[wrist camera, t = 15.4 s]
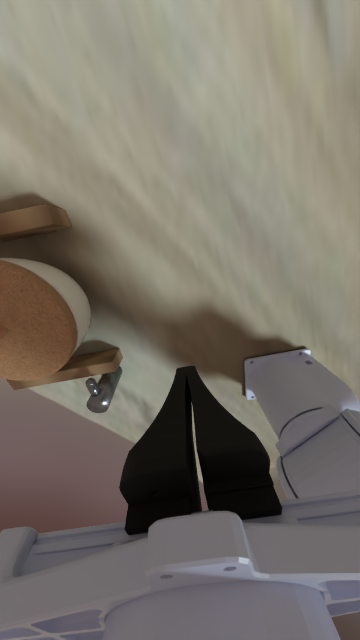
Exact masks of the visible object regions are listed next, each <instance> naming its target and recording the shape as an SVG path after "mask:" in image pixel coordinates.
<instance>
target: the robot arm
mask: <svg viewBox="0 0 360 640" xmlns="http://www.w3.org/2000/svg"><path fill="white" fill-rule="evenodd" d="M310 353H311V351H310V350H309V349H308V348H306V349H300V350H295V351H289V352H284V353H278V354H272V355H267V356H261V357H256V358H250V359H246V360H245V361H244V370H245V393H246V399H247V400H251V399H257V401H258V403H259V404H260V406H261V408H262V410H263V412H264V413H265V415H266V417H267V419H268V421H269V423H270V424H271V426H272V428H273V430H274V432H275V433H276V435H277V437H278V439H279V441H278V442H277V443H276V444H275V445H276V447H277V449H278V451H279V453H280V455H281V456H279V457H278V459H277V470H278V476H279V479H280V482H281V485H282V487H283V489H284V492H285V494H286V496H287V498H288V500H282V501H279V499H278V497H277V494H276V492H275V489H274V487H273V485H274V484H273V481H272V478H271V476H270V474H269V469H270V458H269V456H268V453H267V452H266V450H265V448H264V446H263V445H262V443H261V442H260V440H259V439H258V437H257V436H256V434H255V433H254V432H252V431H251V430H250V429H248V428H247V427H246V426H244V425H243V424H242V423H241V422H239V421H238V420H237V419H236V418H234V417H233V416H232V415H231V414H230V413H229V412H228V411H227V410H226V409H225V408H224V407H223V406H222V405H221V404H220V403H219V402H218V401H217V400H216V399H215V398H214V396H213V395H212V394H211V393H210V391H209V390H208V389H207V387H206V386H205V384H204V383H203V381H202V380H201V378H200V376H199V375H198V373H197V370H196V368H195V366H187V367H181V368H177V370H176V374H175V378H174V381H173V384H172V387H171V389H170V392H169V394H168V396H167V398H166V400H165V402H164V404H163V406H162V408H161V410H160V412H159V413H158V415H157V416H156V418H155V420H154V421H153V423H152V424H151V425H150V427H149V428H148V429H147V431H146V432H145V433H144V435H143V436H142V437H141V439H140V440H139V441H138V442H137V443H136V444H135V446H134V447H133V448H132V449H131V450H130V451H129V453H128V456H127V459H126V462H125V465H124V468H123V472H122V477H121V482H120V487H119V488H120V491H121V493H122V495H123V497H124V498H125V500H126V501H127V503H128V511H127V517H126V522H121V523H114V524H106V525H100V526H92V527H85V528H77V529H70V530H62V531H55V532H48V533H40V534H37V532H36V531H35V530H34V529H33V528H31V527H18V528H12V529H4V530H3V531H2V532H1V533H0V640H340V637H339V635H338V633H337V630H336V628H335V625H334V623H333V621H332V619H331V617H333V616H339V615H344V614H350V613H355V612H360V402H359V400H358V398H357V397H356V395H355V394H354V392H353V391H352V390H351V389H350V388H349V387H348V386H347V385H346V384H345V383H344V382H343V381H342V380H341V379H339V378H338V377H337V376H335V375H334V374H333V373H332V372H330V371H329V370H328V369H327V368H325V367H324V366H323V365H322V364H320V363H319V362H318V361H317V360H315V359H314V358H313V357H312V356H310ZM251 361H252V362H251ZM191 401H192V405H193V413H194V423H195V434H196V446H197V453H198V458H199V462H200V467H201V472H202V477H203V484H204V492H205V496H206V500H207V505H208V509H209V511H202V507H201V499H200V491H199V483H198V475H197V467H196V459H195V451H194V442H193V432H192V405H191Z"/></svg>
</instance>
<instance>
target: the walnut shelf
mask: <svg viewBox="0 0 360 640" xmlns="http://www.w3.org/2000/svg"><path fill="white" fill-rule="evenodd" d="M70 227H72V226H71V223H70V220H69V218H68V215H67V213H66V210H63V209H60V208H57V207H54V206H51V205H48V204H41V205H37V206H32V207H27V208H23V209H18V210H14V211H9V212H5V213H0V242H4V241H9V240H14V239H18V238H23V237H28V236H33V235H37V234H42V233H47V232H51V231H56V230H61V229H65V228H70ZM122 358H123V356H122V354H121V351H120V349H119V348H118V349H113V350H107V351H102V352H97V353H91V354H86V355H81V356H75V357H71V358H70V359H69V361H68V362H67V363H66V364H65V365H64V366H63V367H62V368H61V369H60V370H59V371H57V372H55V373H54V374H52V375H50V376H47V377H45V378H41V379H36V380H28V381H16V380H9V379H6V380H7V381H8V383H9V384H10V385H11V386H12V387H13V389H14V390H17V389H22V388H28V387H33V386H39V385H44V384H50V383H55V382H61V381H66V380H72V379H77V378H83V377H88V376H94V375H99V374H105V373H110V372H116V371H117V369H118V367H119V365H120V362H121V360H122Z"/></svg>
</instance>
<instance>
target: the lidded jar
mask: <svg viewBox="0 0 360 640" xmlns="http://www.w3.org/2000/svg"><path fill="white" fill-rule="evenodd" d="M90 321H91V309H90V304H89V301H88V298H87V296H86V294H85V293H84V291H83V290H82V288H81V287H80V286H79V285H78V283H77V282H76V281H75V280H74V279H72V278H71V277H70V276H69V275H67V274H66V273H64V272H63V271H61V270H59V269H57V268H55V267H53V266H51V265H48V264H45V263H42V262H37V261H32V260H27V259H17V258H0V378H4V379H9V380H16V381H28V380H36V379H41V378H45V377H47V376H50V375H52V374H54V373H55V372H57V371H59V370H60V369H61V368H62V367H63V366H64V365H65V364H66V363H67V362H68V361H69V359H70V358H71V356H72V355H73V353H74V352H75V351H76V350H77V348H78V347H79V346H80V344H81V343H82V341H83V340H84V338H85V336H86V334H87V331H88V329H89V326H90Z"/></svg>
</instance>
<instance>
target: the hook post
mask: <svg viewBox="0 0 360 640" xmlns="http://www.w3.org/2000/svg"><path fill="white" fill-rule="evenodd" d="M121 374H122V369H121V367H120V366H119V367H118V369H117V371H116V372H110V373H105V374H102V376H101V378H100V379H99V381H98V383H96V381H95V379H93V378H89V379H88V380H87V381H86V386H87V388H88V390H89V392H90V394H91V396H90V398H89V400H88V402H87V407H88V409H89V410H90V411H92V412H95V413H103V412H105V411H107V409H108V407H109V405H110V402H111V400H112V397H113V394H114V392H115V389H116V387H117V384H118V382H119V379H120V377H121Z"/></svg>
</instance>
